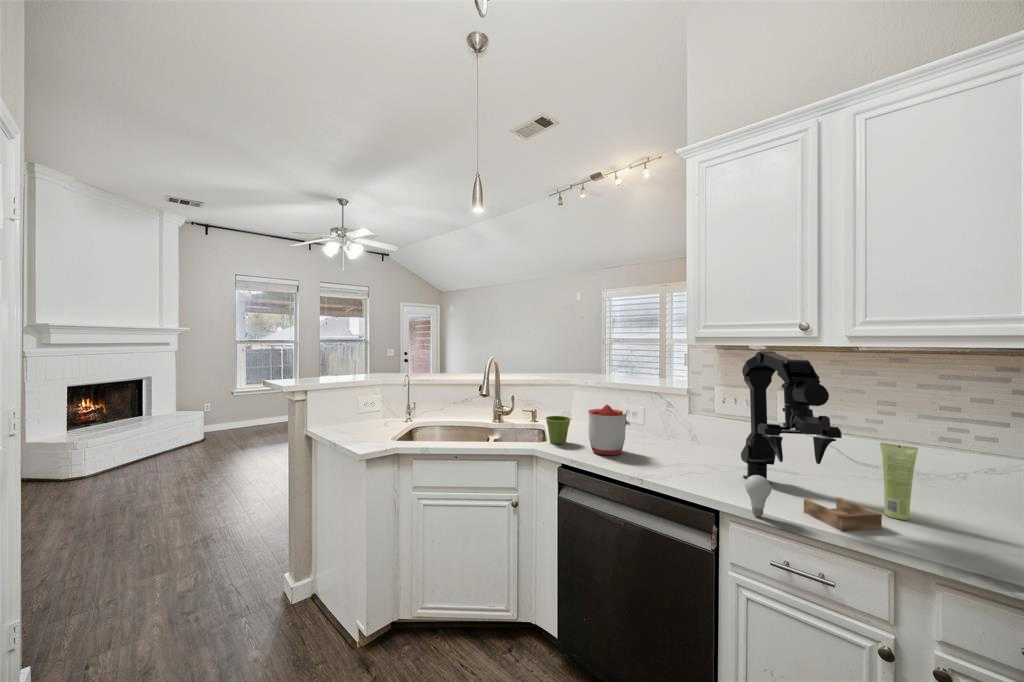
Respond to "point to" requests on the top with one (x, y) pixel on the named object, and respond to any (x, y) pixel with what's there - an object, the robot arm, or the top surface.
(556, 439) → the plant pot
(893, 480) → the tube
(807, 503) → the u rest
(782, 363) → the robot arm
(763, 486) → the lightbulb
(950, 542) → the top surface
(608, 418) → the citrus juicer
